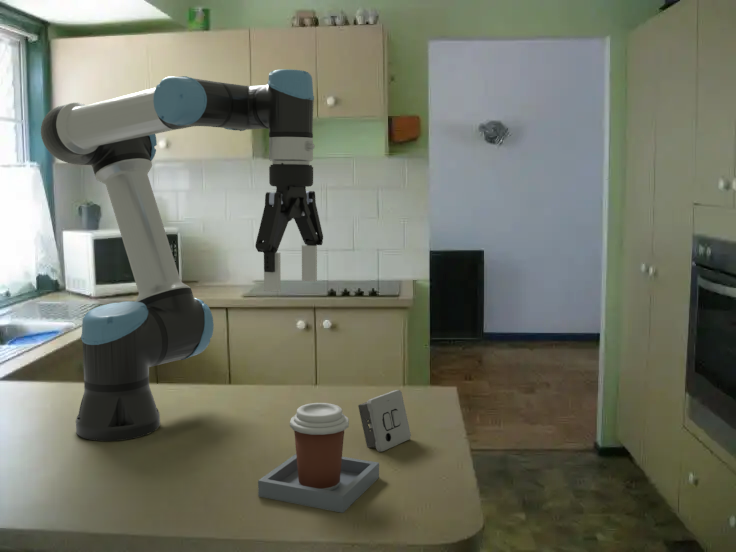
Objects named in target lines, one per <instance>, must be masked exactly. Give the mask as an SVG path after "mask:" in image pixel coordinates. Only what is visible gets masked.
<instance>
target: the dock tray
mask: <svg viewBox="0 0 736 552" xmlns="http://www.w3.org/2000/svg"><path fill="white" fill-rule="evenodd" d="M379 478H380V462H378V461H370V460H365V459H359V458H353V457H349V456H348V457H347V456H342V462H341V473H340V486H339V487H338V488H337V489H335V490H332V491H329V490H323V489H318V488H312V487H307V486H302V485H299V479H298V467H297V456H296V453H295V454H293V455H292V456H291V457H289V458H288V459H286V460H285V461H284V462H282V463H280V464H279V465H278V466H276V467H275V468H274V469H272V470H271V471H269V472H268V473H267V474H265V475H264V476H262V477H261V478H259V479H258V481H257V483H258V484H257V486H258V488H257V493H258V494H257V495H258V497H260V498H265V499H270V500H276V501H280V502H285V503H290V504H296V505H301V506H306V507H311V508H316V509H321V510H326V511H331V512H332V511H333V512H336V513H337V512H338V513H342V514H343V513H345V511H347V509H349V508H350V507H351V506H352V505H353V504H354V503H355V501H357V500H358V499H359V498H360V497H361V496H362V495H363V494H364V493H365V492H366V491H367V490H368V489H369V488H370V487H371V486H372V485H373V484H374V483H375V482H377V480H378V479H379Z"/></svg>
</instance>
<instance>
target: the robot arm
mask: <svg viewBox="0 0 736 552" xmlns="http://www.w3.org/2000/svg"><path fill="white" fill-rule="evenodd" d="M313 84H314V83H313V77H312V75H311V73H309V72H308V71H305V70H301V69H290V68H289V69H275V70H271V71H270V72H269V74H268V81H267V84H261V85H242V84H236V83H235V84H234V83H229V82H228V83H227V82H221V81H220V82H219V81H213V80H206V79H200V78H194V77H189V76H183V75H182V76H173V75H172V76H171V75H170V76H167V77H164V78H162V79H161V80H160V82H159V83H158V84H157V85H156V87H153V88H149V89H144V90H140V91H138V92H133V93H129V94H125V95H121V96H117V97H114V98H108V99H106V100H105V99H104V100H102V101H99V102H98V101H97V102H94V103H90V104H84V103H80V102H71V103H67V104H63V105H60V106H56V107H54V108H52V109H51V110H49V112H48V113H47V114H46V115H45V116H44V118H43V120H42V122H41V125H40V126H41V127H40V136H41V141H42V143H43V145H44V147H45V148H46V150H47V151H48V153H50V154H51V155H52V156H53V157H55V158H56V159H57V160H59V161H61V162H64V163H66V164H70V165H77V166H78V165H80V166H91V167H92V170H93V174H94V176H95V180H97V181H99V182H101V183H102V184H104V185H105V187H106V191H107V193H108V194H107V195H108V196H109V200H110V203H111V206H112V209H113V212H114V217H115V219H116V223H117V227H118V229H119V232H120V237H121V238H122V242H123V243H122V244H123V246H124V249H125V253H126V255H127V258H128V259H127V260H128V262H129V265H130V269H131V272H132V275H133V279H134V282H135V285H136V288H137V291H138V296H137V297H136V299H135V301H129V300H126V301H120V302H111V303H108V304H103V305H99V306H97V307H94V308H92V309H90V310H89V311H88V312H86V313H85V315H84V317H83V318H82V322H81V323H82V327H81V336H80V338H81V339H80V340H81V342H82V343H81V344H82V362H83V363H82V364H83V365H82V366H83V385H84V386H83V389H84V390H83V391H84V392H83V395H82V399H81V402H80V405H79V410H78V414H77V416H76V418H75V432H76V435H77V436H79V437H80V438H82V439H85V440H91V441H97V442H98V441H99V442H100V441H101V442H107V441H108V442H114V441H124V440H131V439H136V438H141V437H143V436H146V435H149V434H151V433H153V432H155V431H156V430H158V429H159V427H160V425H161V419H160V415H161V414H160V411H159V409H158V408H157V404H156V402H155V398H154V396H153V393H152V391H151V388H150V387H151V386H150V368H151V367H154V366H159V365H162V364H167V363H170V362H171V363H172V362H175V361H180V360H181V361H183V360H186V359H189V358H191V357H194V356H198V355H199V354H201V353H203V352H204V351H205V350H206V349H207V348H208V346H209V345H210V342H211V338H212V337H213V335H214V328H215V327H214V324H215V323H214V317H213V313H212V311H211V309H210V306H209V305H208V304H206V303H205V301H203V300H202V299H199V298H196V297H194V294H193V291H192V288H191V286H189V285H187V284H186V283H184V282H182V281H181V277H180V275H179V272H178V268H177V264H176V262H175V258H174V255H173V252H172V249H171V244H170V243H169V242H170V241H169V239H168V236H167V232H166V229H165V226H164V223H163V219H162V217H161V213H160V211H159V210H160V209H159V207H158V203H157V201H156V197H155V194H154V192H153V187H152V185H151V181H150V178H149V175H148V174H149V172H150V171H151V169H152V167H153V163H152V161H153V159H154V158H155V155H156V152H157V149H156V148H155V147H156V146H158V144H157V143H158V141H157V136H156V135H157V134H161V133H162V134H163V133H166V132H170V131H176V130H181V129H188V128H193V127H210V128H211V127H212V128H221V129H222V128H223V129H225V130H228V131H229V130H231V131H240V132H242V131H247V130H248V131H249V130H264V129H265V130H266V129H267V130H268V137H269V139H268V160H269V161H270V162H271V163H272V164H270V166H269V167H268V168H269V169H268V171H269V172H268V173H269V176H268V177H269V186H272V187H275V188H276V190H275V191H269V192H268V191H266V192H265V195H264V196H265V198H264V199H265V200H264V208H263V212H262V216H261V220H260V223H259V229H258V234H257V237H256V242H255V245H254V247H255V249H256V250H257V252H258V253H263V277H264V278H263V291H264V292H273V293H280V292H281V290H282V289H281V287H282V286H281V284H282V283H281V252H278V250H279V247H280V245H281V243H282V240H283V238H284V234H285V232H286V229H287V226H288V225H289V222H291V221H292V220H294V221H295V223H296V227H297V229H298V232H299V234H300V236H301V238H302V240H303V243H304V244H303V245H301V281H302V282H314V283H315V282H318V246H322V245H323V240H324V233H323V230H322V225H321V221H320V217H319V211H318V207H317V204H316V201H317V200H316V192H315V191H314V190H306V187H308V188H309V187H312V186H313V184H314V166H313V164H310V162H312V161H313V160H314V149H315V144H314V132H313V131H314V130H313V128H314V127H313V126H314V125H313V124H314V102H315V101H314V100H315V96H314V85H313Z"/></svg>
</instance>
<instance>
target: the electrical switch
mask: <svg viewBox="0 0 736 552" xmlns="http://www.w3.org/2000/svg"><path fill="white" fill-rule="evenodd" d="M403 397H404V396H403V393H402V390H400V389H394V390H391V391H389V392H386V393H384V394H381V395H377V396H375V397H372V398H370V399H368V400H367V401H365V402H362V403H361V404H358V405H357V407H358V411H359V416H360V421H361V426H362V429H363V435H364V438H365V444H366V448H375V449H376V450H377V451H378V452H380V453H381V452H384V451H387V450H389V449H391V448H393V447H395V446H398V445H401V444H403V443H404V442H406V441H408V440H410V439H411V437H412V434H411V429H410V425H409V421H408V419H409V418H408V416H407V415H408V414H407V411H406V405H405V402H404V398H403Z"/></svg>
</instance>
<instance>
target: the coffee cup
mask: <svg viewBox="0 0 736 552" xmlns="http://www.w3.org/2000/svg"><path fill="white" fill-rule="evenodd" d="M349 422H350V419H349V417H348V416H346V414H344V413H343V408H341V406H339V405H337V404H334V403H330V402H329V403H328V402H313V403H312V402H311V403H306V404H302V405H301V406H299V407H297V409H296V413H295V414H294V415H293V416H292V417H291V418H290V421H289V427H290V428H291V429H292V430H293V432H294V442H295V443H294V444H295V454H296V456H297V467H298V479H299V485H302V486H307V487H312V488H318V489H323V490H329V491H332V490H335V489H337V488H338V487H339V486H340V473H341V462H342V457H343V450H344V440H345V438H344V435H345V430H346V429H348V428H349V425H350V423H349Z"/></svg>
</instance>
